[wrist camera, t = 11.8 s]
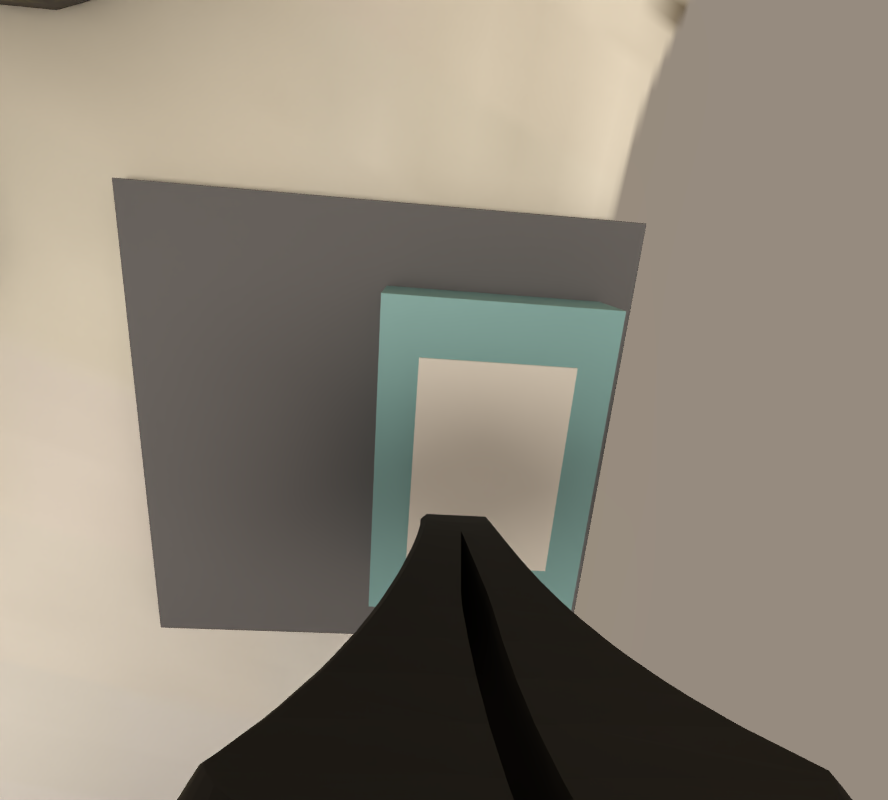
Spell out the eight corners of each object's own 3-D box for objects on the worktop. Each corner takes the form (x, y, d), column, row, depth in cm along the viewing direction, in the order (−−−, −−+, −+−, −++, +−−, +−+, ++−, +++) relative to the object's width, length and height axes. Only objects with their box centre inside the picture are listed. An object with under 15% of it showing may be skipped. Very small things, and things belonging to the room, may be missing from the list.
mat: (564, 628, 19) (568, 640, 18) (169, 614, 18) (160, 627, 17) (637, 224, 14) (646, 223, 14) (124, 180, 13) (112, 178, 13)
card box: (380, 293, 12) (627, 311, 12) (386, 285, 14) (599, 301, 14) (368, 608, 15) (571, 615, 15) (374, 564, 17) (554, 571, 17)
